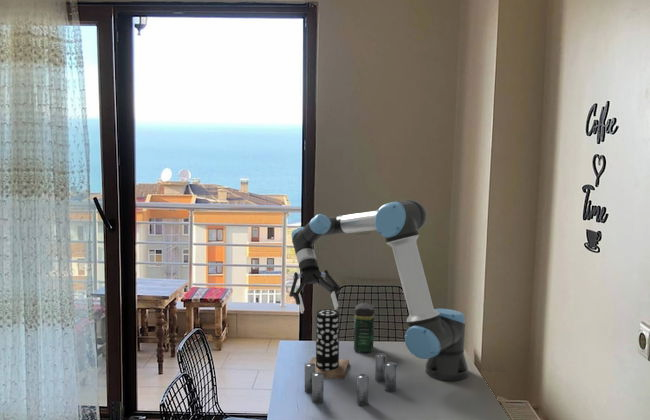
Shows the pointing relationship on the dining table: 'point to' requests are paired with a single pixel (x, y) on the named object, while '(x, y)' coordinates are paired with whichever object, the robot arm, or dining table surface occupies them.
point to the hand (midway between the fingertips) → (320, 309)
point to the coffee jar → (364, 327)
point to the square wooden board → (335, 373)
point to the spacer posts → (316, 380)
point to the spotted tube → (327, 339)
